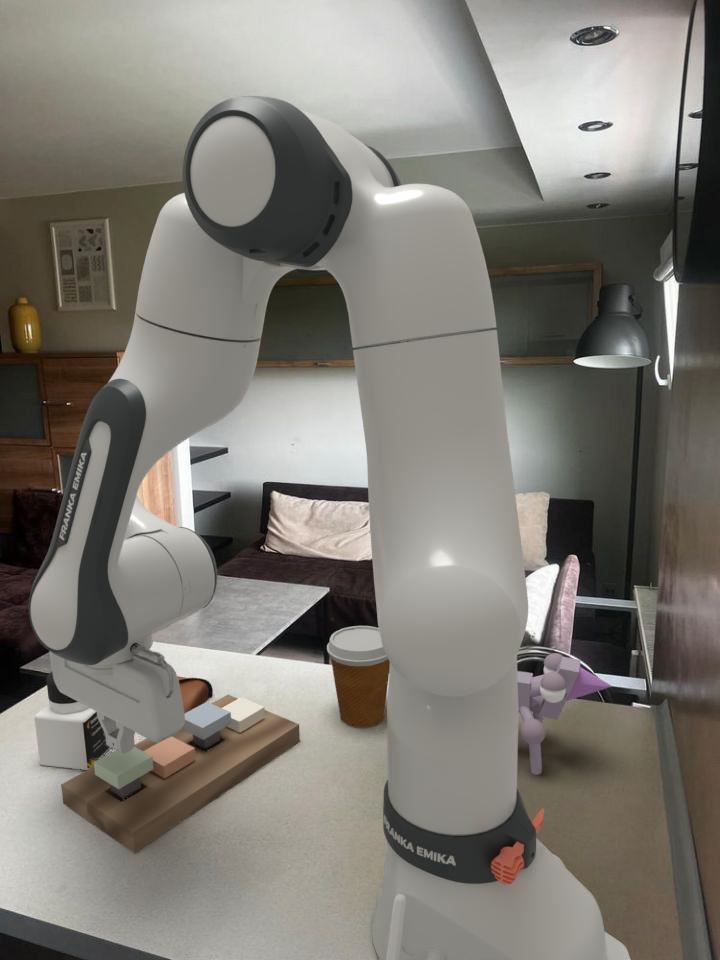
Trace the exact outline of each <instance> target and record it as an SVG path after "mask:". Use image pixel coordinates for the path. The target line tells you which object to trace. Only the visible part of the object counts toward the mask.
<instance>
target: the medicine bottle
mask: <svg viewBox="0 0 720 960" xmlns="http://www.w3.org/2000/svg"><path fill="white" fill-rule="evenodd" d="M45 681H46V688H47V689H46V690H47V698H48V704H47V705H46V706H45V707H43V708H42V709H40V711H39V712H37V713H36V714H35V715H34V724H35V725H34V726H35V732H36V742H37V749H38V750H37V751H38V757H39V764H40V766H46V767H56V768H62V767H63V768H64V769H71V768H72V769H74V770H80V769H81V770H82V771H87V770H89V769H91V768H93V767H94V762H95V761H97V760H98V759H100V758H102V757H104V755H106V753H107V752H108V751H109V750H110V749H112V748H111V747H109V746H107V744H106V736H105V732H104V730H103V728H102V726H101V724H100V722H99V720H98V718H97V711H95V710H93V709H91V708H89V707H87V706H85V705H84V704H82V703H80V702H78V701H76V700H74V699H72V698H70V697H69V696H67V695H65V694H63V693H61V692H60V691H59V690H58V688H57V686H56V684H55V682H54V679H53V673H52V670H51V671H50V672H49V674H48V675H47V676H46V679H45Z"/></svg>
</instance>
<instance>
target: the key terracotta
mask: <svg viewBox="0 0 720 960" xmlns="http://www.w3.org/2000/svg"><path fill="white" fill-rule="evenodd" d="M143 752H145V753H147V754H149V755H151V756H152V757H153V770H151V771H152V772H154V773H156V774H158V775H159V776H161V777H163V778H166V777H168V776H170V775H171V774H173V773H175V772H176V771H178V770H180V769H181V768H183V767H185V766H186V765H188V764H190V763H191V762H193V761H194V760H196V758H195V748H194V747H192V746H190V745H188V744H186V743H184V742H182V741H180V740H178V739H176V738H174V737H172V736H171V737H169V738H167V739H166V740H164V741H162V742H159V743H157V744H156V745H154V746H152V747H150V748H148V749H147V750H145V751H143Z"/></svg>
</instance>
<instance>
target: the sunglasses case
mask: <svg viewBox="0 0 720 960" xmlns="http://www.w3.org/2000/svg"><path fill="white" fill-rule="evenodd" d="M177 677H178V680H179V685H180V689H181V695H182V701H183V707H184V714H185V713H187V712H189V711H190V710H192V709H194V708H196V707H198V706H200V705H202V704H204V703H206V702H209V699H213V694H214V692H213V691H214V690H213V686H212V683H210V681H208V680H207V679H204V678H200V677H185V676H183V677H182V676H179V675H177Z"/></svg>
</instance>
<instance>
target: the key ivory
mask: <svg viewBox="0 0 720 960" xmlns="http://www.w3.org/2000/svg"><path fill="white" fill-rule="evenodd" d="M265 708H266V707H265V706H264V705H260V704H259V703H256V702H254V701H252V700H249V699H246V698H245V697H239V698H238V699H237V700H235V701H233V702H232V703H230V704H228V705H226V706H224V707H222V709H224V710H227V711H229V712H231V724H230V725H228V726H226V727H229V728H231V729H233V730H235V731H237V732H239V733H241V732H242V731H244V730H246V729H247V728H249V727H251V726H252V725H254V724H256V723H257V722H259V721H260V720H262V719H264V718H265V710H266V709H265Z"/></svg>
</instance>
